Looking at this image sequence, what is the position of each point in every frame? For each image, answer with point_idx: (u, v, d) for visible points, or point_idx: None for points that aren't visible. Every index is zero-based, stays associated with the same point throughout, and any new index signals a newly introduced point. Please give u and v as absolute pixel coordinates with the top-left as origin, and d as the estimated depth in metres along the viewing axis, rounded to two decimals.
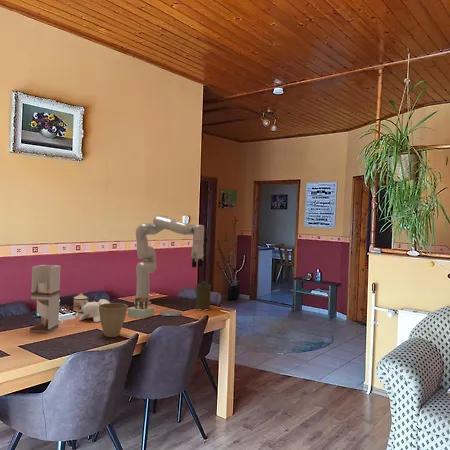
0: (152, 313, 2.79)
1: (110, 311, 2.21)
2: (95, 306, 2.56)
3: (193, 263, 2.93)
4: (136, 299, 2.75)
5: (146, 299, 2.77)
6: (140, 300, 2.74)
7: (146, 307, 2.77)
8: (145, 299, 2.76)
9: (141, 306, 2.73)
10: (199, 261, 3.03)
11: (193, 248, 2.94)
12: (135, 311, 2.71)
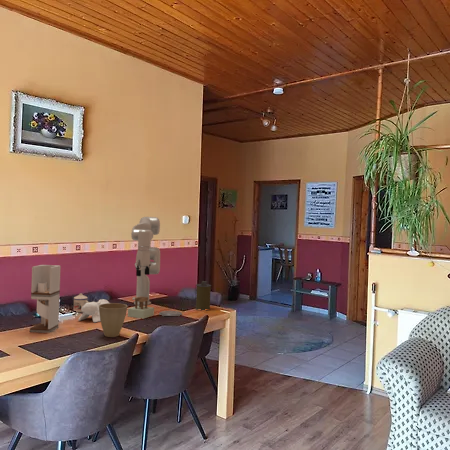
0: (152, 313, 2.79)
1: (110, 311, 2.21)
2: (94, 306, 2.56)
3: (137, 272, 2.72)
4: (136, 299, 2.75)
5: (146, 299, 2.77)
6: (140, 300, 2.74)
7: (146, 307, 2.77)
8: (145, 299, 2.76)
9: (141, 306, 2.73)
10: (145, 269, 2.81)
11: (137, 255, 2.73)
12: (135, 311, 2.71)
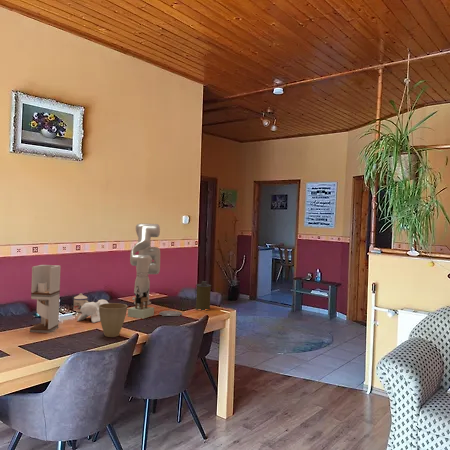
0: (152, 313, 2.79)
1: (110, 311, 2.21)
2: (93, 306, 2.55)
3: (137, 299, 2.73)
4: None
5: (146, 299, 2.77)
6: None
7: (146, 307, 2.77)
8: (145, 299, 2.76)
9: (141, 306, 2.73)
10: (143, 296, 2.80)
11: (136, 282, 2.73)
12: (135, 311, 2.71)
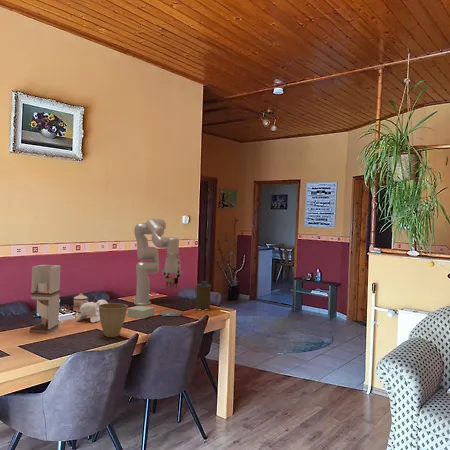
0: (152, 313, 2.79)
1: (110, 311, 2.21)
2: (92, 306, 2.55)
3: None
4: None
5: (171, 280, 2.81)
6: None
7: None
8: (169, 280, 2.81)
9: (166, 286, 2.83)
10: None
11: None
12: (135, 311, 2.71)
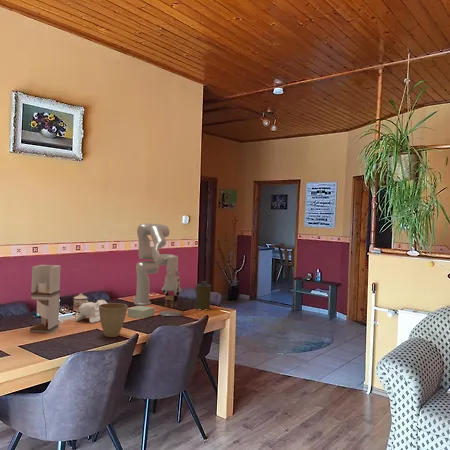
0: (152, 313, 2.79)
1: (110, 311, 2.21)
2: (91, 307, 2.54)
3: None
4: None
5: (170, 298, 2.81)
6: None
7: (171, 306, 2.81)
8: (169, 298, 2.81)
9: None
10: None
11: None
12: (135, 311, 2.71)
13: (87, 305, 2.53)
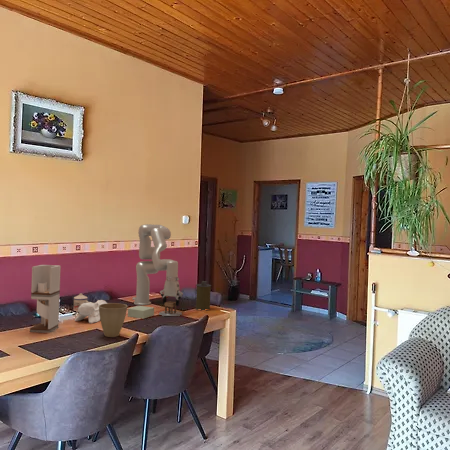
0: (152, 313, 2.79)
1: (110, 311, 2.21)
2: (90, 307, 2.54)
3: None
4: None
5: (170, 305, 2.81)
6: None
7: None
8: (168, 304, 2.81)
9: (165, 310, 2.83)
10: None
11: None
12: (135, 311, 2.71)
13: (86, 305, 2.53)
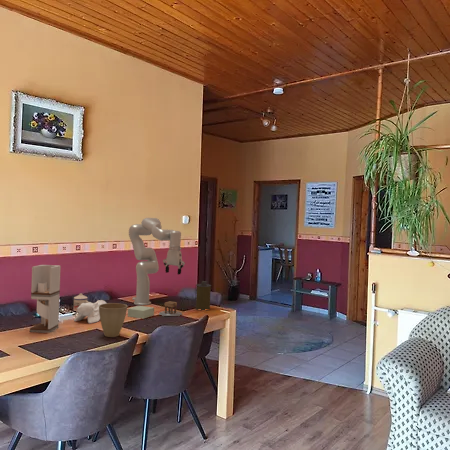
0: (152, 313, 2.79)
1: (110, 311, 2.21)
2: (89, 307, 2.53)
3: (166, 268, 2.96)
4: None
5: (170, 305, 2.81)
6: None
7: None
8: (168, 304, 2.81)
9: (165, 310, 2.83)
10: None
11: None
12: (135, 311, 2.71)
13: (85, 305, 2.52)
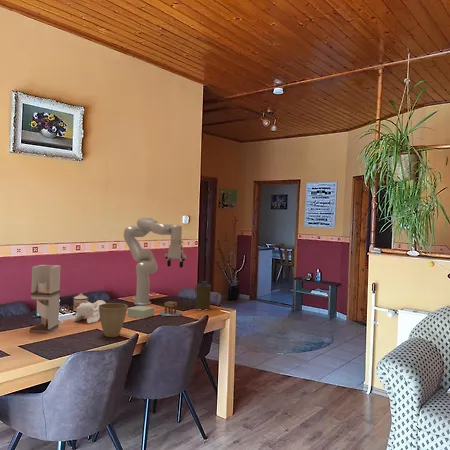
0: (152, 313, 2.79)
1: (110, 311, 2.21)
2: (89, 307, 2.53)
3: None
4: None
5: (170, 305, 2.81)
6: None
7: None
8: (168, 304, 2.81)
9: (165, 310, 2.83)
10: None
11: None
12: (135, 311, 2.71)
13: (84, 305, 2.52)
